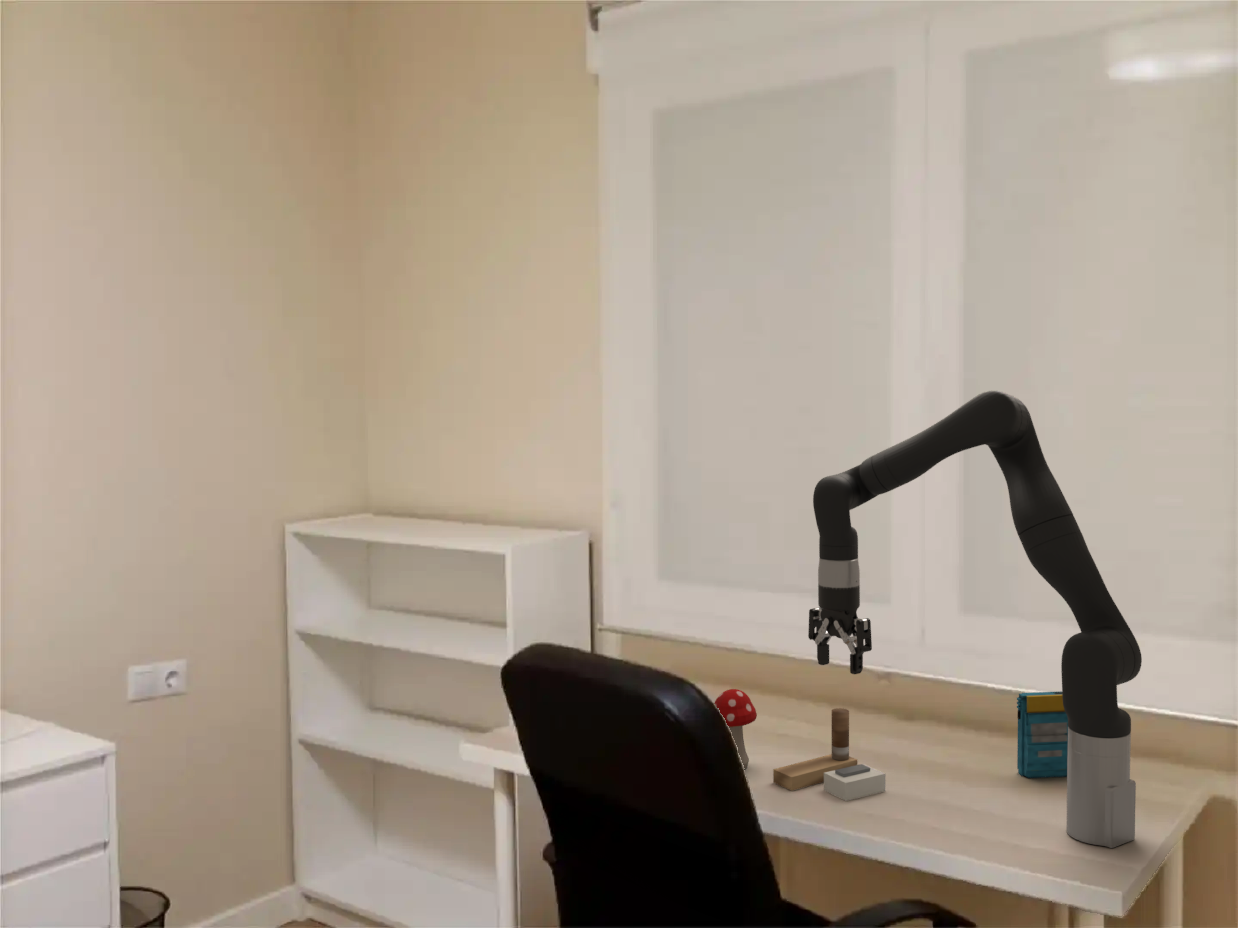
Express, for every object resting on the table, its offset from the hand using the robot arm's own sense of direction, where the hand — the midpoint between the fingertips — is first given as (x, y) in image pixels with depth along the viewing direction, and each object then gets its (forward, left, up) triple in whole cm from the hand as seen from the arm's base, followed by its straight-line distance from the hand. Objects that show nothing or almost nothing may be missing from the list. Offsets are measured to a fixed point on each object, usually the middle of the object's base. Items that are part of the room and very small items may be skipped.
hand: (839, 668), depth 211 cm
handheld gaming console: (-23, -29, -20) cm, 42 cm away
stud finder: (-9, +5, -20) cm, 22 cm away
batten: (0, +6, -19) cm, 20 cm away
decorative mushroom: (+13, +15, -20) cm, 28 cm away
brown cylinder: (0, 0, -17) cm, 17 cm away
